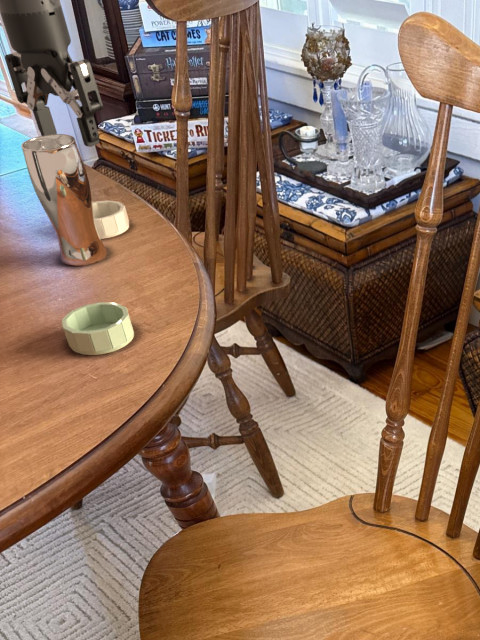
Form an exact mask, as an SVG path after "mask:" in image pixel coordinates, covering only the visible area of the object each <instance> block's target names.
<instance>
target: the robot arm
mask: <svg viewBox="0 0 480 640" xmlns="http://www.w3.org/2000/svg"><path fill="white" fill-rule="evenodd" d="M0 17H1V20H2V23H3V26H4V29H5V33H6V35H7V38H8V41H9V44H10V47H11V49H12V50H13V51H14V52H11V53H8V54H4V60H5V63H6V66H7V70H8V74H9V77H10V80H11V83H12V87H13V89H14V93H15V96H16V99H17V101H18V103H20V104H26V105H27V107H28V108H29V110H31V111H32V114H33V116H34V120H35V123H36V125H37V129H38V131H39V133H40V136H44V135H51V134H58V132H57V128H56V125H55V122H54V119H53V116H52V112H51V109H50V106H47V105H48V100H49V96H50V95H53V96H56V97H59V99H60V100H61V101H62V102H63V103H64V104H65V105H66V104H67V105H68V106H69V107H70V108H71V110H72V111H73V113H74V114H75V116H76V122H77V125H78V129H79V132H80V136H81V139H82V142H83V145H84V146H86V147H87V148H89V147H91V148H92V147H94V146H96V145H98V144H99V143H100V134H99V130H98V127H97V123H96V120H95V113H97V112H99V111H101V110H103V109H104V103H103V101H102V98H101V95H100V91H99V87H98V85H97V82H96V79H95V75H94V71H93V69H92V66H91V63H90V61H89V60H88V59H86V58H85V59H81V60H77V61H76V60H75V61H74V60H73V59H72V57H71V56H70V54H69V50H68V49H69V46H70V44H71V41H72V39H71V35H70V31H69V28H68V25H67V22H66V21H67V20H66V17H65V14H64V10H63V7H62V4H61V0H0ZM23 84H24V86H25V91H24V89H23ZM72 88H73V90H72ZM89 93H90V97H91V100H92V101H91V100H90V98H89ZM78 101H79V102H80V103H81V105H80V104H79V102H78Z"/></svg>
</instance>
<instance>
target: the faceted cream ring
mask: <svg viewBox="0 0 480 640" xmlns="http://www.w3.org/2000/svg"><path fill="white" fill-rule="evenodd" d="M92 205H93V214H94V221H95V225H96V229H97V232H98V234H99V237H100V239H101V240H102V239H109V238H114V237H117V236H119V235H122V234H123V233H125V232H126V231H127V230H129V228H130V219H129V216H128V212H127V208H126V205H124V204H123V203H122V202H121V201H117V200H116V201H115V200H96V201H92Z"/></svg>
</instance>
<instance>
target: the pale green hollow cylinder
mask: <svg viewBox="0 0 480 640" xmlns="http://www.w3.org/2000/svg"><path fill="white" fill-rule="evenodd" d="M61 326H62V327H61V328H62V330H63V333H64V335H65V338H66V341H67V343H68V346H69V348H70V349H71V350H72V351H73V352H75V353H77V354H80V355H85V356H98V355H105V354H110V353H113V352H116V351H118V350H120V349H122V348H124V347H126V346H127V345H128V344H130V343H131V342H132V340H133V339H134V337H135V331H134V327H133V324H132V320H131V317H130V313H129V310H128V308H127V306H124V305H122V304H120V303H118V302H111V301H110V302H108V301H100V302H99V301H98V302H93V303H88V304H84V305H81V306H79V307H77V308H75V309H73V310H70V311H69V312H67V314H66V315H64V317H63V318H62V319H61Z"/></svg>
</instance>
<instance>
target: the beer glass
mask: <svg viewBox="0 0 480 640" xmlns="http://www.w3.org/2000/svg"><path fill="white" fill-rule="evenodd" d="M20 146H21V150H22V154H23V157H24V161H25V165H26V169H27V172H28V175H29V178H30V181H31V184H32V187H33V189H34V192H35V194H36V196H37V199H38V201H39V203H40V205H41V206H42V209H43V211H44V213H45V214H46V216H47V218H48V220H49V222H50V223H51V225H52V227H53V231H54V232H55V235H56V238H57V241H58V246H59V253H60V259H61V261H62V263H63V264H64V265H65V264H66V265H67V266H73V267H81V266H87V265H92V264H96V263H97V262H100V261H102V260H104V259H105V257H106V255H107V249H106V247H105V245H104V243H103V241H102V239H100V237H99V234H98V232H97V229H96V225H95V221H94V214H93V205H92V202H93V199H92V192H91V191H92V190H91V186H90V181H89V177H88V173H87V169H86V166H85V163H84V160H83V158H82V155H81V153H80V150H79V147H78V145H77V142H76V138H75V137H74V136H73V135H70V134H63V133H57V134H51V135H44V136H41V135H39V136H34V137H32V138H29V139H26V140H25V141H23V142H22V144H21V145H20Z"/></svg>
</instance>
